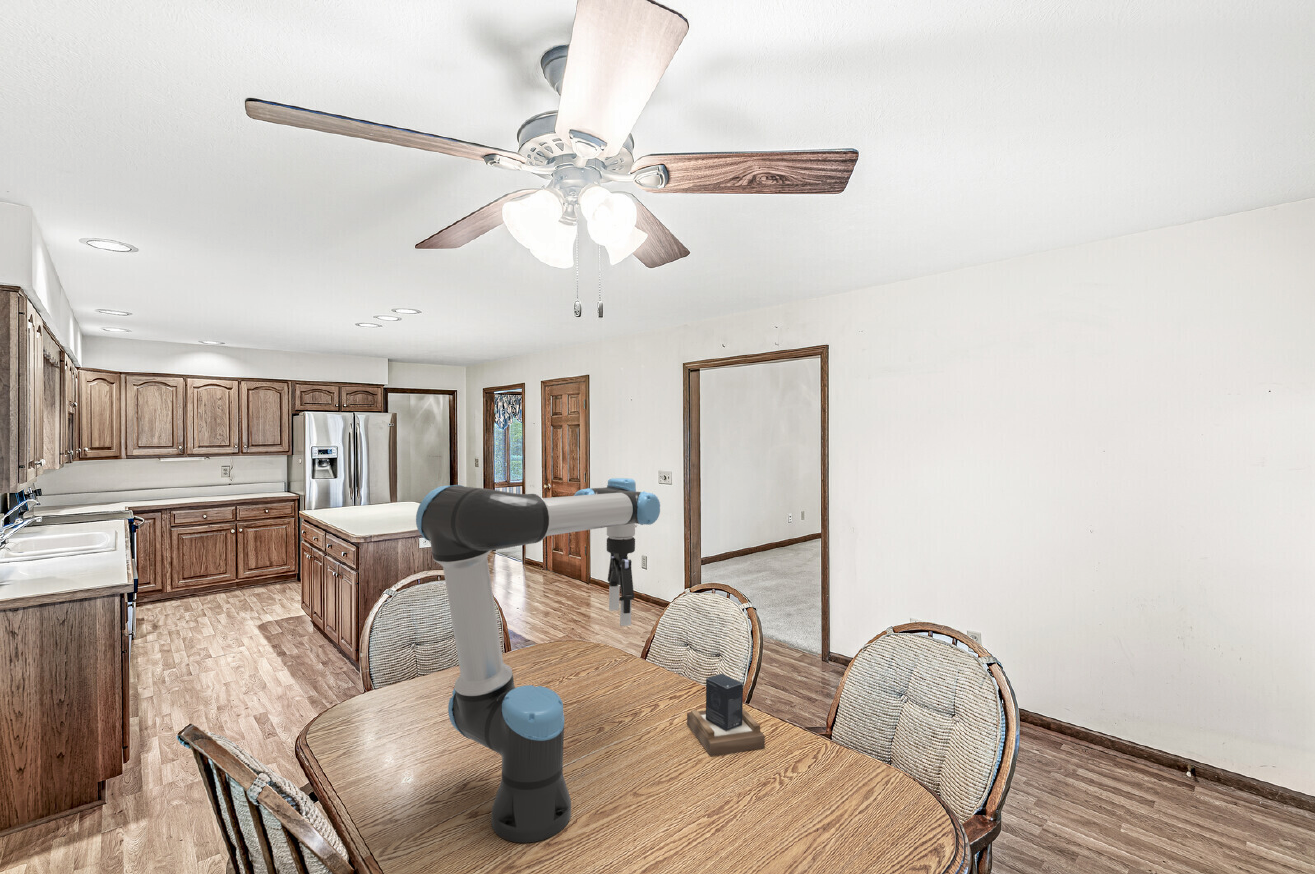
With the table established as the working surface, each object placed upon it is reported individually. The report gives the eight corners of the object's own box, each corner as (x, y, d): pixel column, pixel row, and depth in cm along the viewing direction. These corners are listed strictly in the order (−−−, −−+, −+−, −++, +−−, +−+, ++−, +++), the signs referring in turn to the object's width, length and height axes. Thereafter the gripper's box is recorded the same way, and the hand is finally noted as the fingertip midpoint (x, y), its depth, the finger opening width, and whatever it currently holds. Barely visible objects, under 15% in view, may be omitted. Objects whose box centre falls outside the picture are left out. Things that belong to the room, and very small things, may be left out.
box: (742, 725, 145) (743, 682, 146) (726, 731, 142) (726, 688, 142) (721, 713, 152) (721, 672, 152) (704, 719, 148) (705, 677, 148)
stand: (764, 747, 141) (764, 729, 141) (710, 756, 137) (710, 736, 137) (736, 717, 156) (736, 700, 156) (687, 724, 152) (687, 706, 152)
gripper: (647, 544, 144) (645, 631, 144) (623, 529, 168) (622, 603, 168) (617, 545, 142) (615, 633, 142) (598, 530, 166) (596, 605, 166)
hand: (619, 617), depth 155 cm, fingers open, 13 cm apart
